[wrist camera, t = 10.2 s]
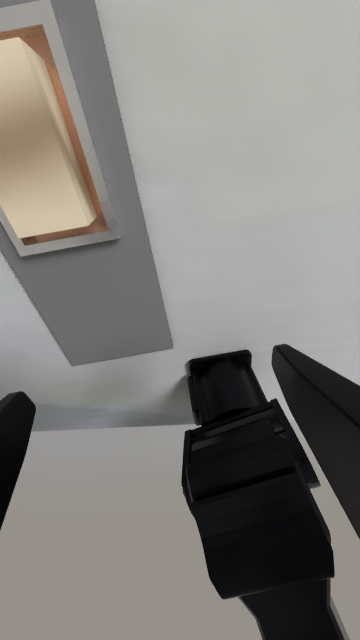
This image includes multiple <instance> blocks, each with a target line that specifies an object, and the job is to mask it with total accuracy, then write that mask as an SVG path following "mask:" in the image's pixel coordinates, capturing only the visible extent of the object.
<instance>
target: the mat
mask: <svg viewBox="0 0 360 640" xmlns="http://www.w3.org/2000/svg"><path fill="white" fill-rule="evenodd" d="M34 1H39V0H0V8H3V7H8V6H13V5H18V4H24V3H29V2H34ZM51 1H52V3H53V5H54V6H55V8H56V9H57V11H58V13H59V17H60V20H61V24H62V27H63V31H64V34H65V37H66V41H67V44H68V48H69V51H70V55H71V58H72V62H73V65H74V68H75V72H76V75H77V79H78V82H79V86H80V89H81V93H82V96H83V100H84V103H85V106H86V110H87V113H88V117H89V120H90V124H91V127H92V131H93V134H94V137H95V141H96V144H97V148H98V151H99V155H100V158H101V162H102V165H103V169H104V172H105V175H106V179H107V182H108V186H109V189H110V193H111V196H112V200H113V203H114V206H115V210H116V213H117V217H118V220H119V224H120V227H121V231H122V237H121V238H119V239H114V240H108V241H103V242H97V243H92V244H87V245H81V246H76V247H70V248H65V249H59V250H54V251H48V252H43V253H38V254H32V255H27V256H20V255H19V253H18V251H17V249H16V248H15V246H14V244H13V242H12V241H11V239H10V237H9V235H8V234H7V232H6V230H5V228H4V227H3V225H2V223H1V221H0V250H1V251H2V253H3V255H4V256H5V258H6V259H7V261H8V263H9V264H10V266H11V268H12V269H13V271H14V272H15V274H16V276H17V277H18V279H19V281H20V282H21V284H22V285H23V287H24V289H25V290H26V292H27V294H28V295H29V297H30V298H31V300H32V302H33V303H34V305H35V307H36V308H37V310H38V311H39V313H40V315H41V316H42V318H43V320H44V321H45V323H46V324H47V326H48V328H49V329H50V331H51V333H52V334H53V336H54V337H55V339H56V341H57V342H58V344H59V346H60V347H61V349H62V350H63V352H64V354H65V355H66V357H67V359H68V360H69V362H70V363H71V365H72V366H77V365H82V364H88V363H94V362H99V361H105V360H111V359H116V358H122V357H127V356H133V355H139V354H144V353H150V352H156V351H161V350H167V349H172V348H173V343H172V339H171V335H170V330H169V326H168V321H167V317H166V313H165V308H164V304H163V299H162V295H161V291H160V286H159V282H158V277H157V273H156V269H155V264H154V260H153V255H152V251H151V247H150V242H149V238H148V234H147V229H146V225H145V220H144V216H143V212H142V207H141V203H140V198H139V194H138V190H137V185H136V181H135V176H134V172H133V168H132V163H131V159H130V154H129V150H128V146H127V141H126V137H125V133H124V128H123V124H122V119H121V115H120V111H119V106H118V102H117V97H116V93H115V89H114V84H113V80H112V75H111V71H110V67H109V62H108V58H107V53H106V49H105V45H104V40H103V36H102V32H101V27H100V23H99V18H98V14H97V10H96V5H95V1H94V0H51Z"/></svg>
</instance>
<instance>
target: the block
mask: <svg viewBox="0 0 360 640" xmlns="http://www.w3.org/2000/svg"><path fill="white" fill-rule="evenodd" d="M0 206H1V208H2V209H3V211H4V213H5V215H6V217H7V218H8V220H9V222H10V224H11V226H12V227H13V229H14V231H15V233H16V235H17V237H18V238H25V237H30V236H36V235H41V234H47V233H52V232H57V231H63V230H68V229H74V228H79V227H85V226H89V225H90V224H91V223H92V222H93V221H94V220H95V219H96V218H97V215H96V212H95V209H94V206H93V203H92V200H91V197H90V194H89V191H88V188H87V185H86V182H85V179H84V176H83V173H82V170H81V167H80V165H79V162H78V159H77V156H76V153H75V150H74V147H73V144H72V141H71V138H70V135H69V132H68V129H67V126H66V123H65V120H64V117H63V114H62V111H61V108H60V105H59V102H58V99H57V96H56V93H55V90H54V87H53V84H52V81H51V78H50V75H49V73H48V70H47V67H46V64H45V61H44V60H43V59H42V58H41V57H40V56H39V55H38V54H37V53H36V52H35V51H34V50H33V49H31V48H30V47H29V46H28V45H27V44H26V43H25V42H24V41H23V40H22V39H21V38H20V37H16V38H11V39H6V40H1V41H0Z"/></svg>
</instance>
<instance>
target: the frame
mask: <svg viewBox="0 0 360 640" xmlns="http://www.w3.org/2000/svg"><path fill="white" fill-rule="evenodd" d="M16 37H20V38H21V39H22V40H23V41H24V42H25V43H26V44H27V45H28V46H29V47H30V48H31V49H33V50H34V51H35V52H36V53H37V54H38V55H39V56H40V57H41V58H42V59H43V60H44V61H45V64H46V67H47V70H48V73H49V75H50V78H51V81H52V84H53V87H54V90H55V93H56V96H57V99H58V102H59V105H60V108H61V111H62V114H63V117H64V120H65V123H66V126H67V129H68V132H69V135H70V138H71V141H72V144H73V147H74V150H75V153H76V156H77V159H78V162H79V165H80V167H81V170H82V173H83V176H84V179H85V182H86V185H87V188H88V191H89V194H90V197H91V200H92V203H93V206H94V209H95V212H96V215H97V218H96V219H95V220H94V221H93V222H92V223H91V224H90V225H89V226H85V227H79V228H74V229H68V230H63V231H57V232H52V233H47V234H41V235H36V236H30V237H25V238H18V237H17V235H16V233H15V231H14V229H13V227H12V226H11V224H10V222H9V220H8V218H7V217H6V215H5V213H4V211H3V209H2V208H1V206H0V221H1V223H2V225H3V227H4V228H5V230H6V232H7V234H8V235H9V237H10V239H11V241H12V242H13V244H14V246H15V248H16V249H17V251H18V253H19V255H20V256H27V255H32V254H38V253H43V252H48V251H54V250H59V249H65V248H70V247H76V246H81V245H87V244H92V243H97V242H103V241H108V240H114V239H119V238H121V237H122V231H121V227H120V224H119V220H118V217H117V213H116V210H115V206H114V203H113V200H112V196H111V193H110V189H109V186H108V182H107V179H106V175H105V172H104V169H103V165H102V162H101V158H100V155H99V151H98V148H97V144H96V141H95V137H94V134H93V131H92V127H91V124H90V120H89V117H88V113H87V110H86V106H85V103H84V100H83V96H82V93H81V89H80V86H79V82H78V79H77V75H76V72H75V68H74V65H73V62H72V58H71V55H70V51H69V48H68V44H67V41H66V37H65V34H64V31H63V27H62V24H61V20H60V17H59V13H58V11H57V9H56V8H55V6H54V5H53V3H52V1H51V0H39V1H34V2H29V3H24V4H18V5H13V6H8V7H3V8H0V41H1V40H6V39H11V38H16Z"/></svg>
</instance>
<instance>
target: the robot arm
mask: <svg viewBox="0 0 360 640" xmlns="http://www.w3.org/2000/svg"><path fill="white" fill-rule="evenodd" d="M251 358H252V355H251V352H250V351H249V350H243V351H237V352H232V353H226V354H221V355H215V356H209V357H204V358H198V359H193V360H191V361H190V362H189V366H190V371H191V376H190V377H188V379H187V380H188V386H189V393H190V399H191V406H192V412H193V416H194V421H195V424H196V425H197V426H198V425H202V426H201V427H199V428H196V429H193V430H187V431H185V438H184V451H183V466H182V487H183V494H184V496H185V497H186V501H187V504H188V506H189V509H190V511H191V513H192V515H193V516H194V518H195V520H196V522H197V526H198V529H199V533H200V536H201V540H202V545H203V549H204V554H205V559H206V564H207V569H208V574H209V578H210V580H211V582H212V583H213V585H214V587H215V589H216V590H217V592H218V594H219V595H220V597H221V598H222V599H229V598H234V597H239V599H240V600H241V601H242V603H243V604H244V605H245V606H246V607H247V609H248V610H249V611H250V612H251V614H252V615H253V616H254V618H255V619H256V621H257V624H258V627H259V630H260V633H261V636H262V639H263V640H350V639H349V637H348V635H347V632H346V630H345V628H344V625H343V623H342V621H341V618H340V616H339V614H338V612H337V609H336V607H335V604H334V602H333V600H332V598H331V595H330V578H334V559H333V550H332V547H331V537H330V532H329V529H328V527H327V525H326V523H325V521H324V519H323V517H322V514H321V512H320V510H319V508H318V506H317V504H316V502H315V500H314V498H313V495H312V493H311V491H310V489H311V488H317V487H320V486H321V485H320V482H319V480H318V478H317V476H316V474H315V471H314V470H313V467H312V465H311V463H310V461H309V459H308V457H307V455H306V453H305V451H304V449H303V447H302V445H301V443H300V442H299V439H298V438H297V436H296V434H295V432H294V430H293V428H292V427H291V425H290V423H289V421H288V419H287V417H286V415H285V414H284V412H283V410H282V408H281V406H280V404H279V403H278V401H277V399H276V398H275V399H273V400H270V402H268V401H267V399H266V397H265V395H264V393H263V391H262V389H261V387H260V384H259V382H258V380H257V378H256V376H255V374H254V372H253V370H252V367H251ZM272 368H273V370H274V373H275V375H276V378H277V380H278V383H279V385H280V388H281V390H282V393H283V395H284V397H285V400H286V402H287V405H288V407H289V409H290V411H291V413H292V415H293V417H294V419H295V421H296V422H297V424H298V426H299V428H300V430H301V432H302V433H303V435H304V437H305V439H306V441H307V443H308V444H309V447H310V448H311V450H312V452H313V454H314V456H315V457H316V459H317V461H318V463H319V465H320V467H321V469H322V471H323V472H324V474H325V476H326V478H327V480H328V482H329V483H330V485H331V487H332V489H333V491H334V493H335V495H336V496H337V498H338V500H339V502H340V504H341V506H342V507H343V509H344V511H345V513H346V515H347V516H348V519H349V520H350V522H351V524H352V526H353V528H354V530H355V531H356V533H357V535H358V537H359V539H360V386H359V385H357V384H356V383H354V382H352V381H350V380H349V379H347V378H345V377H343V376H342V375H340V374H338V373H336V372H335V371H333V370H331V369H329V368H328V367H326V366H324V365H322V364H321V363H319V362H317V361H315V360H314V359H312V358H310V357H308V356H307V355H305V354H303V353H301V352H300V351H298V350H296V349H294V348H293V347H291V346H289V345H287V344H281V345H275V346H274V347H273V353H272ZM35 412H36V407H35V404H34V403H33V402H32V401H31V400H30V398H29V397H28V396H27V395H26V394H25V393H24V392H21V391H20V392H14V393H10V394H8V395H7V396H6V397H4V398H3V399H2V400H1V401H0V530H1V527H2V524H3V521H4V518H5V515H6V512H7V509H8V506H9V503H10V500H11V497H12V494H13V491H14V488H15V485H16V482H17V479H18V476H19V473H20V470H21V467H22V464H23V461H24V457H25V454H26V450H27V446H28V442H29V438H30V434H31V429H32V425H33V421H34V416H35Z"/></svg>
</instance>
